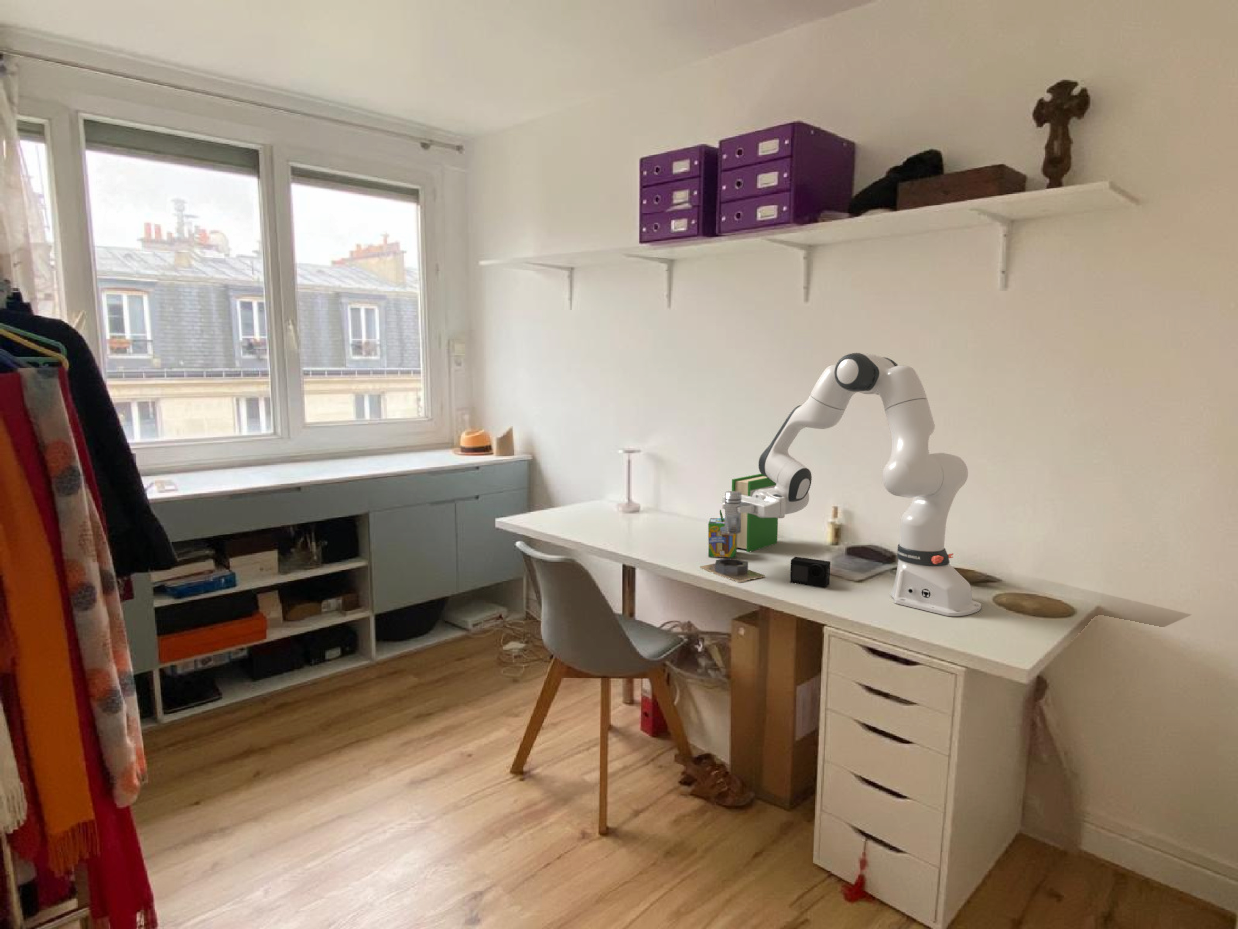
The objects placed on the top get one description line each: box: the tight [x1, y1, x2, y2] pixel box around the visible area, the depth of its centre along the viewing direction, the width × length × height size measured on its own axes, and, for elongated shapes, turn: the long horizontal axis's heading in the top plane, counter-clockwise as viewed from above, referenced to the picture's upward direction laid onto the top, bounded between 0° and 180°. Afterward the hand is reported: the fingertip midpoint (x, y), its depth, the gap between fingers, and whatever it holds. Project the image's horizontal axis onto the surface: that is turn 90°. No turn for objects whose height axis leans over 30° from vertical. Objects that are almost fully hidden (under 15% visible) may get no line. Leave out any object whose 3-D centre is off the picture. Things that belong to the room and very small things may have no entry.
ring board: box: [699, 557, 766, 583], centre depth 222 cm, size 18×10×3 cm, turn 33°
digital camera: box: [789, 556, 831, 589], centre depth 210 cm, size 10×5×7 cm, turn 59°
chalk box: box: [707, 509, 738, 559], centre depth 243 cm, size 9×9×15 cm
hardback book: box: [731, 473, 779, 553], centre depth 254 cm, size 18×7×24 cm, turn 136°
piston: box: [724, 490, 742, 534], centre depth 220 cm, size 5×5×12 cm
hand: (730, 508), depth 219 cm, fingers closed on piston, 5 cm apart
